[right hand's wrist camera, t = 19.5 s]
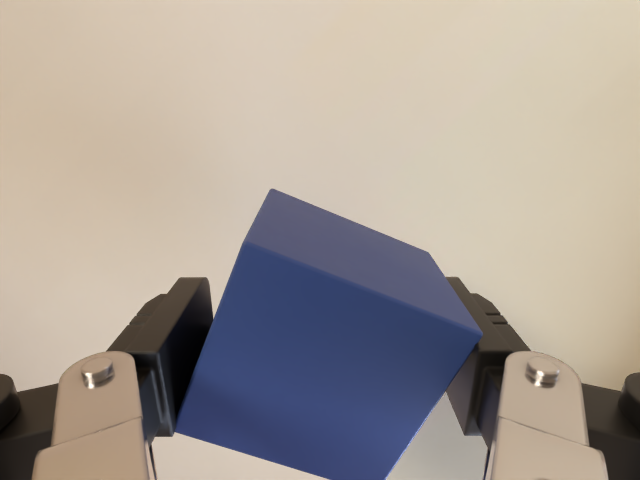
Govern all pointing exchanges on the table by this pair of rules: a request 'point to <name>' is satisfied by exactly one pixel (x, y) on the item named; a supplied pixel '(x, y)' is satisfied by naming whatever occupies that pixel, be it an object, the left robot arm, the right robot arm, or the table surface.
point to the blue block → (326, 346)
